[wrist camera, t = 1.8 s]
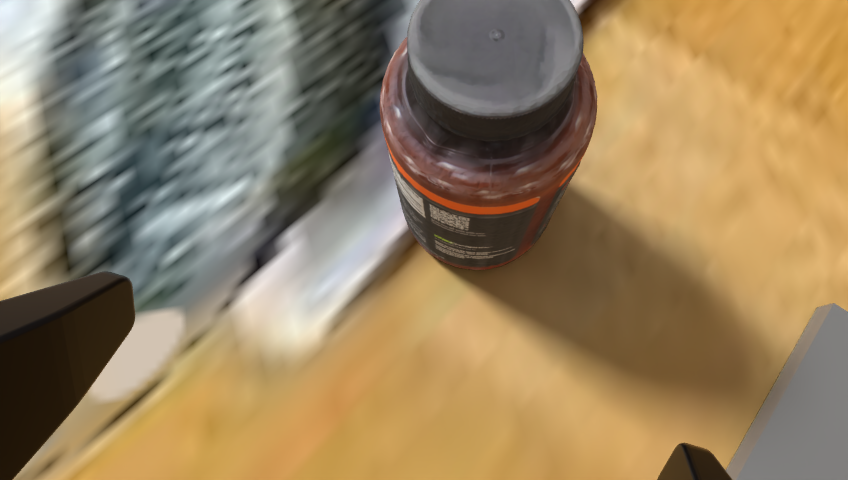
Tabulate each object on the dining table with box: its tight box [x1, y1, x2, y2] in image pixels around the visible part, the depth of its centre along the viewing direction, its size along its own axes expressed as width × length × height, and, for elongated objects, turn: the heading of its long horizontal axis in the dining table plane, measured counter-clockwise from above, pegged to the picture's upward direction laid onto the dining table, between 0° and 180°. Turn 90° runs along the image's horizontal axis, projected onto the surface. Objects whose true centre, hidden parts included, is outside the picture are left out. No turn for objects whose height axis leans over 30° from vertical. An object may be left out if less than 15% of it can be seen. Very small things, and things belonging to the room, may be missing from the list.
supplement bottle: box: [380, 0, 597, 270], centre depth 18 cm, size 6×6×11 cm
